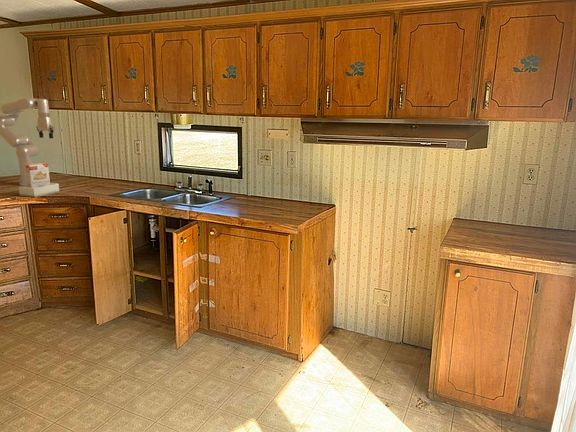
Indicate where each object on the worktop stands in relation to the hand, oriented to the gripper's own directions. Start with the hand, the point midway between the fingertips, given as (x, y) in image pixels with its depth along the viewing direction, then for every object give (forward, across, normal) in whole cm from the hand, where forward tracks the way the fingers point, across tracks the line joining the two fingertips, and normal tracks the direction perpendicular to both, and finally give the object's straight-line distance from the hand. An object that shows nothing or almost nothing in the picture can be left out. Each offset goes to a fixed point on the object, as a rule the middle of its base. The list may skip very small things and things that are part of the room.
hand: (46, 137), depth 337 cm
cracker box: (+38, +14, -24) cm, 47 cm away
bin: (+38, +14, -24) cm, 47 cm away
